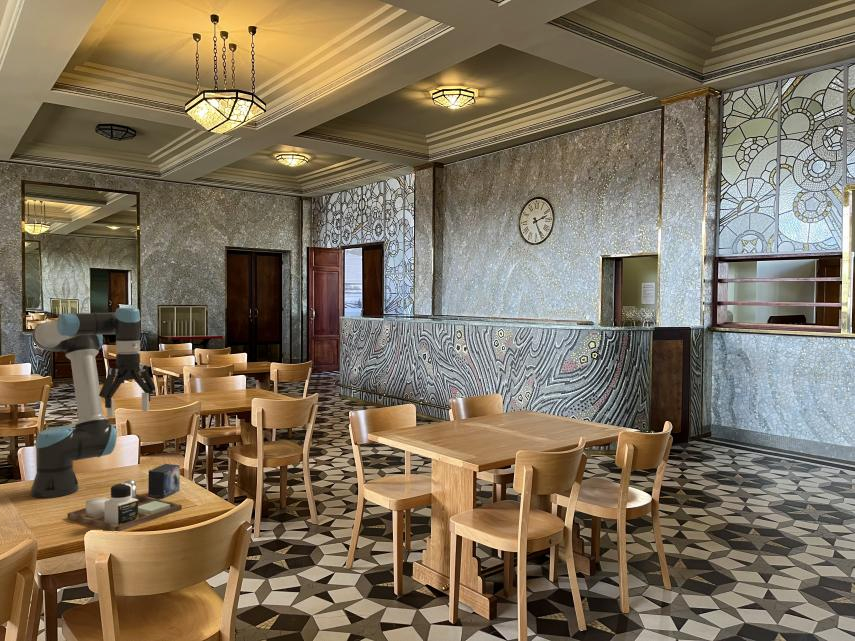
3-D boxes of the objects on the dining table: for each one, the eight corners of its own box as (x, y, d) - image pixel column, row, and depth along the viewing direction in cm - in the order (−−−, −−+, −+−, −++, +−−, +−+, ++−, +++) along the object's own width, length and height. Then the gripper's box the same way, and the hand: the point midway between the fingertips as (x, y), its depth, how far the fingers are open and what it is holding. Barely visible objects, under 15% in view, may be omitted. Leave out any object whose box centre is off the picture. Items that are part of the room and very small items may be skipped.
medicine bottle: (118, 527, 204) (118, 489, 203) (104, 523, 207) (103, 485, 207) (138, 521, 210) (138, 483, 209) (124, 517, 213) (124, 480, 213)
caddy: (67, 520, 212) (67, 513, 212) (133, 500, 233) (133, 493, 233) (116, 534, 200) (116, 527, 200) (181, 511, 221) (181, 504, 221)
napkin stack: (135, 513, 217) (135, 507, 217) (155, 506, 224) (155, 500, 224) (151, 517, 214) (151, 510, 214) (170, 510, 220) (170, 504, 220)
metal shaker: (120, 506, 224) (120, 480, 223) (131, 503, 227) (130, 477, 227) (128, 508, 222) (128, 482, 221) (138, 505, 225) (138, 479, 225)
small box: (163, 501, 232) (163, 471, 232) (147, 499, 234) (147, 470, 233) (180, 492, 243) (180, 464, 242) (164, 491, 244) (164, 463, 244)
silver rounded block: (81, 517, 213) (81, 501, 213) (101, 511, 219) (100, 496, 219) (94, 521, 209) (94, 505, 209) (114, 514, 216) (114, 499, 215)
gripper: (101, 356, 213) (102, 421, 214) (165, 350, 235) (166, 409, 236) (87, 354, 216) (87, 418, 217) (151, 349, 238) (151, 407, 239)
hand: (128, 414), depth 226 cm, fingers open, 13 cm apart
